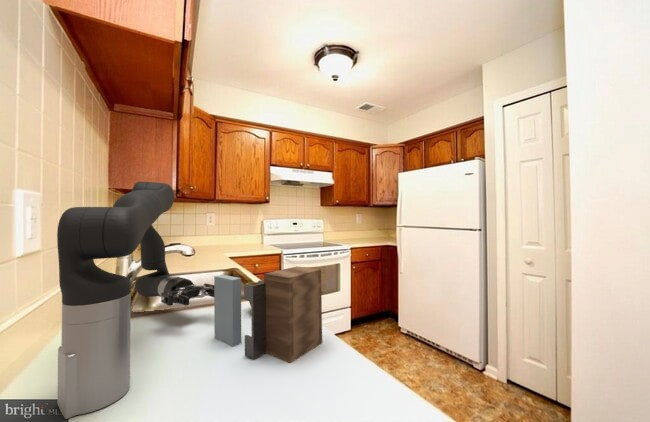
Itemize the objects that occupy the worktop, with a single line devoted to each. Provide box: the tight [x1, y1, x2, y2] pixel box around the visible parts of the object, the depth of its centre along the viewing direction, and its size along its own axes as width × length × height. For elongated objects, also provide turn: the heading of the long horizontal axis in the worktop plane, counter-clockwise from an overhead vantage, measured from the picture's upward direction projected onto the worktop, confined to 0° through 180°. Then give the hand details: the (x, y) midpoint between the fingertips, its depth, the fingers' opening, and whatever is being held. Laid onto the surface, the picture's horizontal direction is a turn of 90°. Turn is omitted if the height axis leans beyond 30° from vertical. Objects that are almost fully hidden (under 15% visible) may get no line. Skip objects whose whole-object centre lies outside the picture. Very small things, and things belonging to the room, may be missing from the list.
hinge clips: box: [243, 280, 267, 361], centre depth 61 cm, size 5×3×16 cm
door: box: [213, 274, 242, 347], centre depth 68 cm, size 2×8×16 cm, turn 53°
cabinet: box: [263, 265, 323, 364], centre depth 64 cm, size 11×8×18 cm
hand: (203, 297), depth 75 cm, fingers open, 8 cm apart
